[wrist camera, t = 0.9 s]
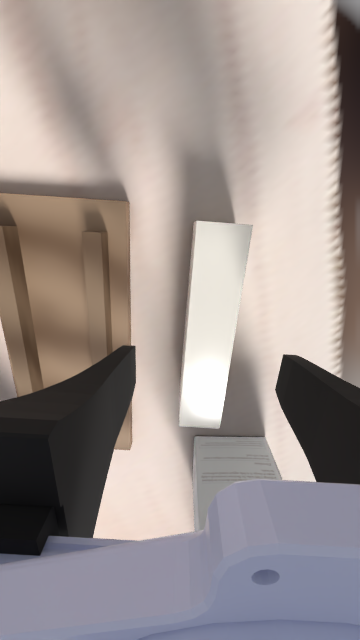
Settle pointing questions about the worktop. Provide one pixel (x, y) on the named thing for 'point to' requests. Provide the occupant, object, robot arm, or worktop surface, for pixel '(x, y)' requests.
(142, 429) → the worktop surface
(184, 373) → the white rectangular block
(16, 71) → the worktop surface
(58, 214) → the railed tan base plate
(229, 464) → the supplement box
